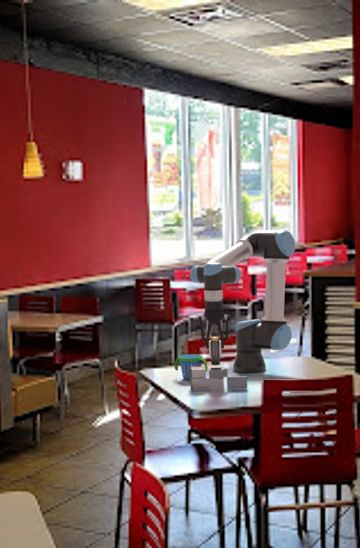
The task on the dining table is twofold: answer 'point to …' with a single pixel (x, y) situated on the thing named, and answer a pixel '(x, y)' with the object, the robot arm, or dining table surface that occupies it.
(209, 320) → the robot arm
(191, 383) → the block
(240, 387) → the grey stacked cubes
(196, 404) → the dining table surface
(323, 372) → the dining table surface
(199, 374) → the fixed leaf
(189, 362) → the snack cup
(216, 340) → the pin
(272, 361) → the dining table surface
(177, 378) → the dining table surface
